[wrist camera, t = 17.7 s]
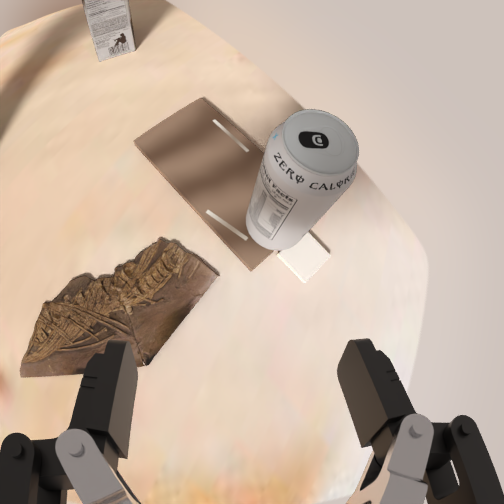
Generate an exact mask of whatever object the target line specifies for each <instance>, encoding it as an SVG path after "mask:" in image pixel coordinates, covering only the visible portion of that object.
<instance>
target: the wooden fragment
mask: <svg viewBox="0 0 504 504" xmlns="http://www.w3.org/2000/svg"><path fill="white" fill-rule="evenodd" d="M217 276H219V275H218V274H216V273H215V272H214V271H213V270H212V269H210V268H209V267H208V266H207V265H206V264H205V263H204V262H203V261H202V260H201V259H200V258H199V257H198V256H197V255H194V254H191V253H186V252H185V251H184V250H182V249H181V248H180V247H179V246H178V245H177V244H175V243H173V242H170V243H166V242H164V241H162V240H161V239H158V240H157V243H155V244H152V245H151V246H150V247H149V248H147V249H146V250H144V251H142V252H141V253H139V254H138V255H137V256H136V257H135V260H134V261H132V262H130V263H126V264H124V265H123V266H121V267H116V268H115V274H114V277H109V278H106V277H102V278H99V279H96V281H94V280H92V279H90V278H88V277H86V276H81V277H78V278H76V279H74V280H71V281H70V282H69V284H68V285H67V287H66V288H64V289H63V290H62V292H61V293H60V294H58V297H57V298H55V299H54V300H53V301H52V302H50V303H47V302H45V303H43V306H42V310H41V313H40V315H39V317H38V320H37V321H36V324H35V327H34V332H33V335H32V337H31V339H30V342H29V346H28V349H27V352H26V354H25V355H24V357H23V360H22V362H21V367H20V375H21V377H42V376H59V375H74V374H84V371H85V368H86V364H87V362H88V361H89V360H90V359H91V358H92V356H93V355H94V354H95V353H102V354H104V351H105V348H106V345H107V342H108V340H121V341H129V342H130V344H131V348H132V351H133V355H134V358H135V362H136V365H137V367H141V366H145V365H146V366H147V365H149V364H150V362H151V361H152V359H153V358H154V356H155V355H156V354H157V353H158V351H159V350H160V349H161V347H162V346H163V345H164V343H165V342H166V341H167V340H168V339H169V337H170V336H171V334H172V333H173V332H174V331H175V329H176V328H177V327H178V326H179V325H180V323H181V322H182V321H183V320H184V318H185V317H186V316H187V315H188V314H189V312H190V310H191V309H192V308H193V307H194V306H195V304H196V303H197V302H198V301H199V299H200V298H201V297H202V296H203V294H204V293H205V292H206V291H207V289H208V288H209V287H210V285H211V284H212V283H213V282H214V280H215V279H216V278H217ZM142 358H143V359H144V363H145V365H143V362H142Z"/></svg>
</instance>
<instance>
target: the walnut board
mask: <svg viewBox="0 0 504 504" xmlns="http://www.w3.org/2000/svg"><path fill="white" fill-rule="evenodd" d="M134 143H135V146H136V147H137V148H138V149H139V150H140V151H141V152H142V153H143V155H144V156H145V157H146V158H147V159H148V160H149V161H150V162H151V163H152V164H153V166H154V167H155V168H156V169H157V170H158V171H159V172H160V173H161V174H162V176H163V177H164V178H165V179H166V180H167V181H168V182H169V183H170V184H171V185H172V187H173V188H174V189H175V190H176V191H177V192H178V193H179V194H180V195H181V196H182V197H183V199H184V200H185V201H186V202H187V203H188V204H189V205H190V206H191V207H192V208H193V209H194V211H195V212H196V213H197V214H198V215H199V216H200V217H201V218H202V219H203V220H204V221H205V223H206V224H207V225H208V226H209V227H210V228H211V229H212V230H213V231H214V232H215V233H216V234H217V236H218V237H219V238H220V239H221V240H222V241H223V242H224V243H225V244H226V245H227V246H228V247H229V248H230V250H231V251H232V252H233V253H234V254H235V255H236V256H237V257H238V258H239V259H240V260H241V261H242V262H243V264H244V265H245V266H246V267H247V268H248V269H249V270H250V271H252V270H253V269H255V268H256V267H257V266H258V265H259V264H260V263H261V262H262V261H263V260H264V259H266V258H267V257H268V256H269V255H270V254H271V253H272V252H273V251H274V250H270V249H267V248H264V247H262V246H261V245H259V244H258V243H256V242H255V241H254V239H253V238H252V237H251V235H250V234H249V232H248V229H247V226H246V214H247V210H248V207H249V203H250V200H251V196H252V193H253V189H254V186H255V183H256V179H257V176H258V172H259V169H260V166H261V162H262V159H263V155H264V153H263V152H262V151H261V150H260V149H258V148H257V147H256V146H255V145H254V144H253V143H252V142H251V141H250V140H249V139H248V138H246V137H245V136H244V135H243V134H242V133H241V132H240V131H239V130H238V129H236V128H235V127H234V126H233V125H232V124H231V123H230V122H229V121H227V120H226V119H225V118H224V117H223V116H222V115H221V114H219V113H218V112H217V111H216V110H215V109H214V108H212V107H211V106H210V105H209V104H208V103H206V102H205V101H204V100H203V99H202V98H199V99H197V100H196V101H194V102H192V103H191V104H189V105H187V106H186V107H184V108H182V109H181V110H179V111H178V112H176V113H174V114H173V115H171V116H170V117H168V118H167V119H165V120H163V121H162V122H160V123H159V124H157V125H156V126H154V127H153V128H151V129H150V130H148V131H147V132H145V133H144V134H143V135H141V136H140V137H138V138H137V139H135V140H134Z"/></svg>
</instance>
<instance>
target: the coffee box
mask: <svg viewBox="0 0 504 504" xmlns="http://www.w3.org/2000/svg"><path fill="white" fill-rule="evenodd" d="M82 3H83V7H84V11H85V14H86V18H87V22H88V25H89V29H90V32H91V36H92V39H93V43H94V46H95V49H96V53H97V56H98V59H99V61H103V60H106V59H109V58H112V57H116V56H119V55H122V54H126V53H129V52H133V51H135V50H136V45H135V39H134V32H133V26H132V19H131V13H130V6H129V0H82Z"/></svg>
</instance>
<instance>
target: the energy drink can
mask: <svg viewBox="0 0 504 504" xmlns="http://www.w3.org/2000/svg"><path fill="white" fill-rule="evenodd" d="M358 156H359V147H358V142H357V140H356V137H355V135H354V133H353V132H352V130H351V129H350V128H349V127H348V126H347V125H346V124H345V123H344V122H343V121H342V120H340V119H339V118H337V117H336V116H334V115H332V114H330V113H327V112H325V111H321V110H315V109H307V110H301V111H298V112H296V113H294V114H292V115H291V116H290V117H289V118H288V119H287V120H286V121H285V122H283V123H282V124H280V125H279V126H277V127H276V128H275V129H274V130H273V131H272V133H271V135H270V137H269V139H268V142H267V145H266V149H265V152H264V155H263V159H262V162H261V166H260V169H259V172H258V176H257V179H256V183H255V186H254V189H253V193H252V196H251V200H250V203H249V207H248V210H247V214H246V226H247V229H248V232H249V234H250V235H251V237H252V238H253V239H254V241H255V242H256V243H258V244H259V245H261V246H262V247H264V248H267V249H270V250H276V251H280V250H286V249H289V248H291V247H293V246H294V245H296V244H297V243H298V242H299V241H300V240H301V239H302V238H303V237H304V236H305V235H306V233H307V232H308V231H309V230H310V229H311V228H312V227H313V226H314V225H315V224H316V223H317V221H318V220H319V219H320V218H321V217H322V216H323V215H324V214H325V213H326V212H327V211H328V209H329V208H330V207H331V206H332V205H333V204H334V203H335V202H336V201H337V200H338V198H339V197H340V196H341V195H342V194H343V193H344V192H345V191H346V190H347V189H348V187H349V186H350V185H351V184H352V182H353V180H354V178H355V175H356V170H357V159H358Z"/></svg>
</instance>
